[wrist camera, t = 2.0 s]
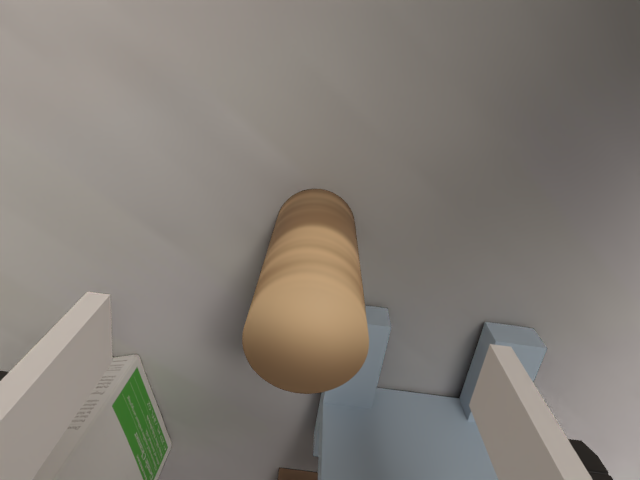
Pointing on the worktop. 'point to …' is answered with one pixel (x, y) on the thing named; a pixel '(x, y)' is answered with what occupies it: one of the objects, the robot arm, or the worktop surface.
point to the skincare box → (113, 431)
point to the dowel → (309, 298)
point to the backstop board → (296, 475)
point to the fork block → (410, 417)
